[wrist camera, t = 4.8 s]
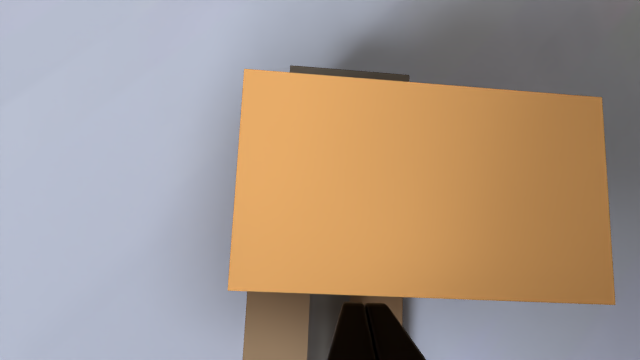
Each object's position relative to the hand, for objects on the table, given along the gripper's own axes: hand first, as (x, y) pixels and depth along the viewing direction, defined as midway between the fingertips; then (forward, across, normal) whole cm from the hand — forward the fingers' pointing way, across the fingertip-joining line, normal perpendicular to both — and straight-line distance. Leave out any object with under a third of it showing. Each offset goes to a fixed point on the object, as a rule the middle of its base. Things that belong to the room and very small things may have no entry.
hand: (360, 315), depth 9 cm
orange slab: (+5, 0, +3) cm, 6 cm away
